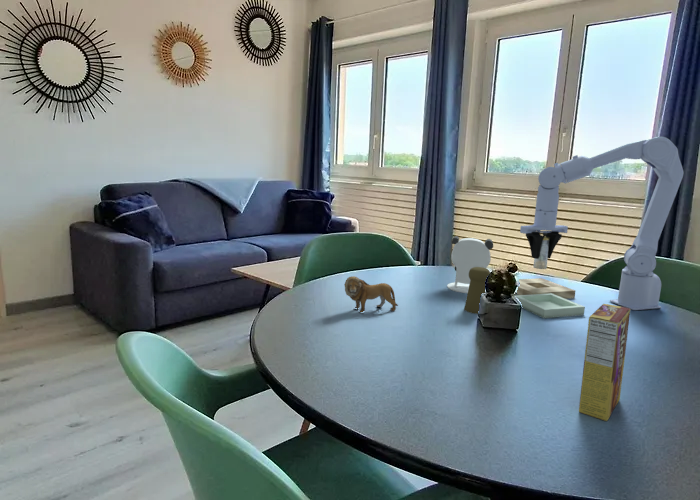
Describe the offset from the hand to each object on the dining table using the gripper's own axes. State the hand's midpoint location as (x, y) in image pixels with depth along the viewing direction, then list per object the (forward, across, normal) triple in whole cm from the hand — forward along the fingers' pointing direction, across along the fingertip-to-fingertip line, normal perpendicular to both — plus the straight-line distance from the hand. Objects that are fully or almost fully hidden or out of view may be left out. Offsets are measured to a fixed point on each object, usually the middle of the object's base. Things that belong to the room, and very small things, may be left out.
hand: (541, 257), depth 134 cm
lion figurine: (+10, +54, +6) cm, 55 cm away
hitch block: (+10, 0, 0) cm, 10 cm away
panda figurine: (+10, +18, -8) cm, 22 cm away
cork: (+10, +27, +11) cm, 31 cm away
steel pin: (+3, 0, 0) cm, 3 cm away
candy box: (+10, +34, +57) cm, 67 cm away
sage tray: (+10, +8, +14) cm, 19 cm away
